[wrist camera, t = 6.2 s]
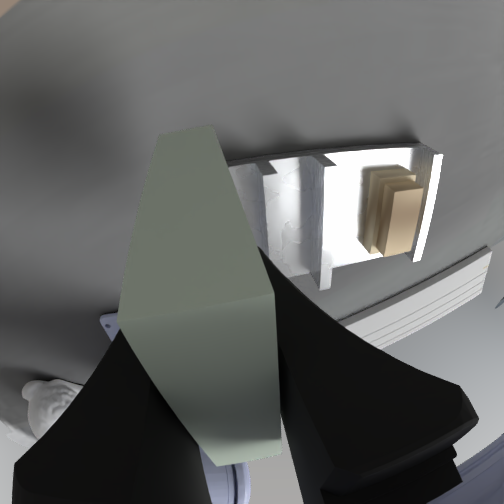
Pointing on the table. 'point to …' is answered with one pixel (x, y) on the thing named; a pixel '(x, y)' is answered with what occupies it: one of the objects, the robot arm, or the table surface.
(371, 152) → the rack
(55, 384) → the rabbit
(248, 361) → the pale green rectangular block
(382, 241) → the offcut upper
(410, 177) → the offcut lower
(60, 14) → the table surface
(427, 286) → the white board
